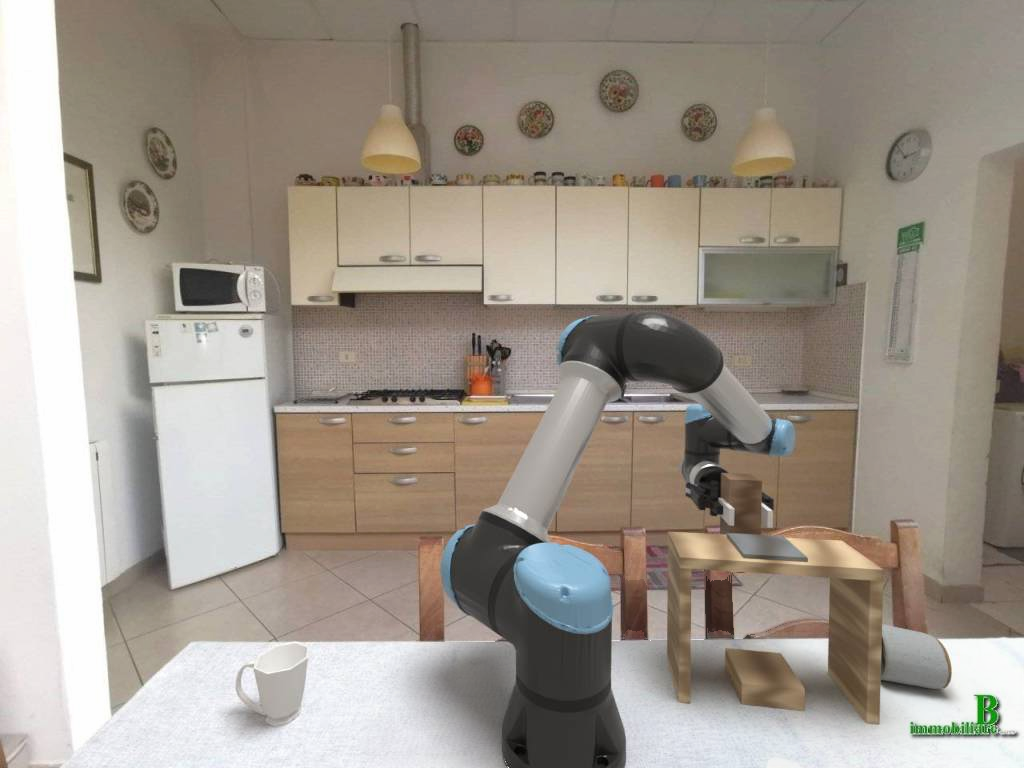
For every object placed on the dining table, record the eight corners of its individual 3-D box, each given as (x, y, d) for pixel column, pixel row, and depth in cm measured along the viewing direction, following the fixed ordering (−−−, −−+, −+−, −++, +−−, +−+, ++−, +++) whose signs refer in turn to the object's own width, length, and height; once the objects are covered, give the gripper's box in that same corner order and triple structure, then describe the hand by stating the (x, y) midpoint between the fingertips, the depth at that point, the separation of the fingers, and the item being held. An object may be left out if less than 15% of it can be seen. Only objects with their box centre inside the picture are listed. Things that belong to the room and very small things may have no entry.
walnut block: (728, 550, 77) (729, 479, 76) (719, 540, 82) (721, 472, 81) (760, 553, 76) (762, 480, 76) (749, 542, 81) (751, 474, 80)
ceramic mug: (955, 703, 64) (957, 648, 64) (884, 691, 66) (886, 638, 66) (915, 658, 74) (916, 611, 74) (855, 649, 76) (855, 603, 76)
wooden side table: (678, 702, 64) (680, 553, 63) (667, 657, 74) (668, 527, 73) (879, 724, 60) (883, 565, 59) (838, 673, 70) (841, 536, 69)
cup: (295, 736, 59) (294, 674, 58) (220, 732, 59) (218, 671, 59) (321, 696, 66) (320, 641, 65) (253, 694, 66) (252, 639, 66)
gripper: (758, 503, 95) (812, 545, 72) (667, 498, 98) (690, 537, 75) (759, 467, 95) (813, 497, 72) (667, 463, 98) (691, 491, 75)
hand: (750, 518), depth 73 cm, fingers closed on walnut block, 5 cm apart
